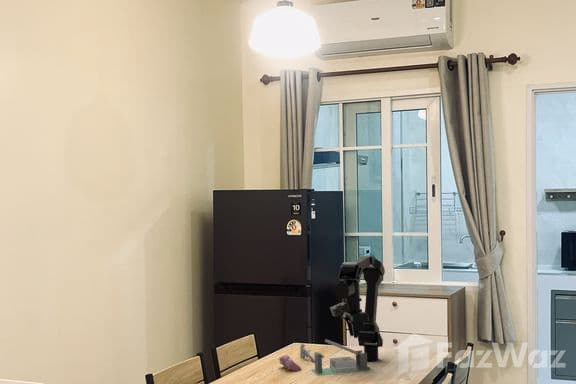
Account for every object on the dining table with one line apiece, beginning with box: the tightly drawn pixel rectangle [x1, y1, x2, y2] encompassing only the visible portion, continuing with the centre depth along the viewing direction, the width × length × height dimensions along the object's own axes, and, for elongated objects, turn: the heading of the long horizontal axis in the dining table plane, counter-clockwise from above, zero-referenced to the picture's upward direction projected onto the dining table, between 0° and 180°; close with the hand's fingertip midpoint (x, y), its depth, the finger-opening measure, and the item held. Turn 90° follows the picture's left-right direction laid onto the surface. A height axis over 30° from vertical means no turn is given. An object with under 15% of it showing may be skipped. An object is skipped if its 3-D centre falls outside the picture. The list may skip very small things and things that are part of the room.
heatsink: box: [329, 356, 357, 374], centre depth 255 cm, size 8×8×4 cm
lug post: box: [314, 351, 325, 373], centre depth 253 cm, size 4×2×7 cm, turn 14°
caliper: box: [299, 343, 315, 364], centre depth 273 cm, size 20×1×6 cm, turn 22°
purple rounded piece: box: [278, 355, 302, 372], centre depth 259 cm, size 10×5×7 cm, turn 23°
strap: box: [324, 338, 361, 356], centre depth 255 cm, size 3×16×2 cm, turn 104°
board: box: [310, 367, 374, 377], centre depth 255 cm, size 10×22×1 cm, turn 104°
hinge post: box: [355, 350, 371, 371], centre depth 257 cm, size 7×4×6 cm, turn 14°
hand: (353, 337), depth 254 cm, fingers open, 4 cm apart
